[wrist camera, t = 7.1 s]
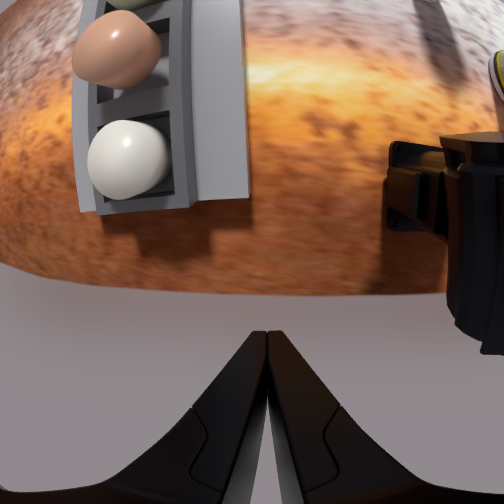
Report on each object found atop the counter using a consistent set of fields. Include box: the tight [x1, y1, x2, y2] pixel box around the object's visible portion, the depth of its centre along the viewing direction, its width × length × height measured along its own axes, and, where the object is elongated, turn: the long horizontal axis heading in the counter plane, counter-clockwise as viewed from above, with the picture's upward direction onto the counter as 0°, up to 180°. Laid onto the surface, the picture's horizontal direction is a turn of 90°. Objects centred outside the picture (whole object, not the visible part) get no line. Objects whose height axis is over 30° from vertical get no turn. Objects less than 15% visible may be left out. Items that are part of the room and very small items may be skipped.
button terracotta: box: [72, 10, 162, 90], centre depth 9 cm, size 4×4×3 cm
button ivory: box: [87, 120, 172, 200], centre depth 13 cm, size 4×4×3 cm
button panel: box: [72, 0, 251, 216], centre depth 13 cm, size 12×18×4 cm, turn 3°
